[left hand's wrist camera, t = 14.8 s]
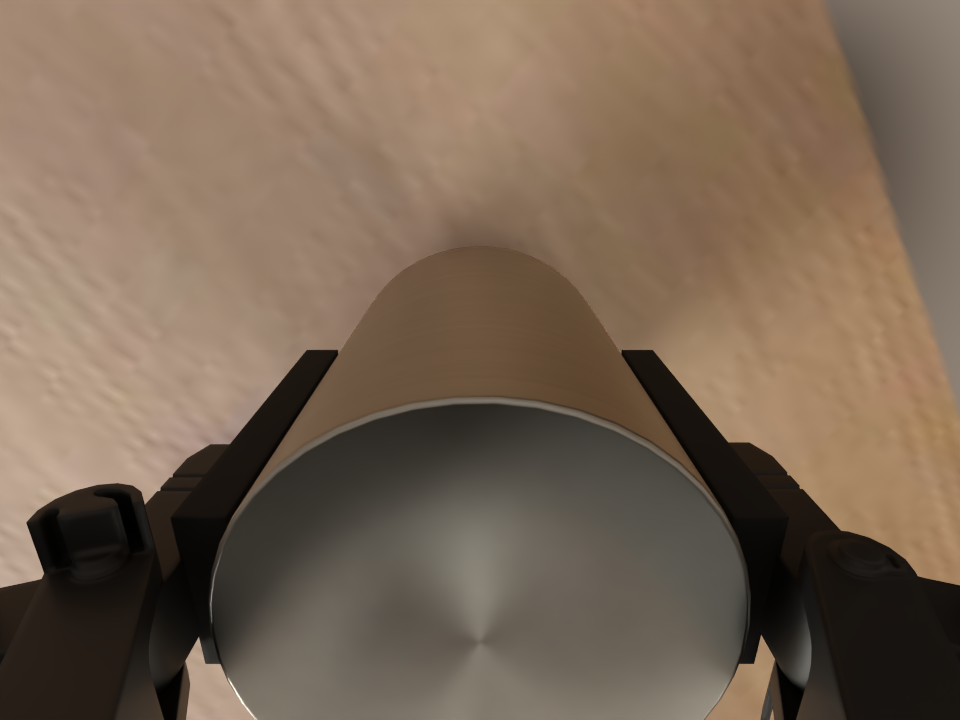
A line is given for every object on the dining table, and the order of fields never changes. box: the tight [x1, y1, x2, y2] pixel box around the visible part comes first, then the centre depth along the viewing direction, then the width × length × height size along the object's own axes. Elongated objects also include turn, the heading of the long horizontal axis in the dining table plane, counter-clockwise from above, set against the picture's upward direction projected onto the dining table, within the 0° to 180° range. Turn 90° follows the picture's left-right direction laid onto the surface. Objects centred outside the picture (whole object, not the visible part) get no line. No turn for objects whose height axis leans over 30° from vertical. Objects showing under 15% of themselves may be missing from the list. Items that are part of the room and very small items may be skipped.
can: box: [209, 246, 751, 720], centre depth 11 cm, size 7×7×9 cm
